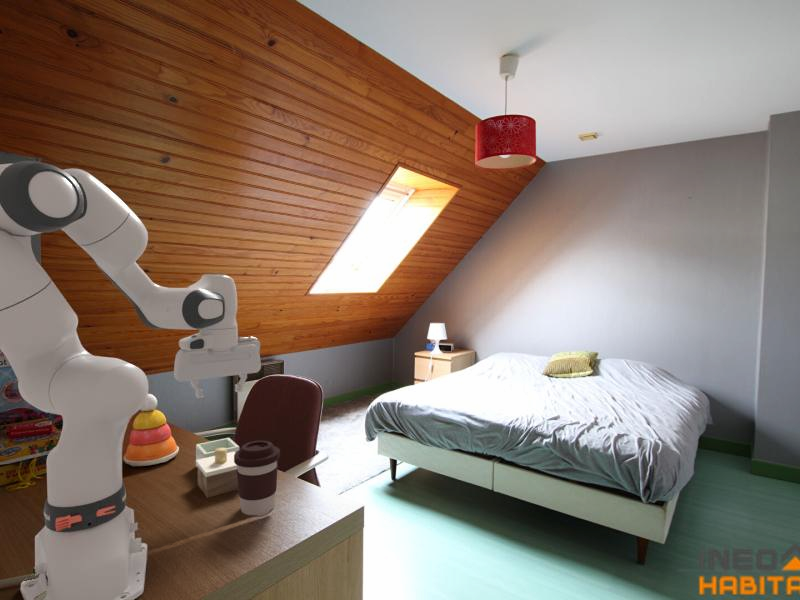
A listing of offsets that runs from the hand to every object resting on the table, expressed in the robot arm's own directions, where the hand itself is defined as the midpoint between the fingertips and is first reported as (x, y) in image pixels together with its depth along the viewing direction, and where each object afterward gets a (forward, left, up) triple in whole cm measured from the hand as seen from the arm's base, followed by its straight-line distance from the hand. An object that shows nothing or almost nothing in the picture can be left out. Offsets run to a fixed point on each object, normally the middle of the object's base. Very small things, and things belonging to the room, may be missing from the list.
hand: (219, 394), depth 112 cm
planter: (+12, -3, -24) cm, 27 cm away
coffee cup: (-16, -4, -24) cm, 29 cm away
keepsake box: (0, 0, -24) cm, 24 cm away
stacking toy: (+32, +10, -24) cm, 41 cm away
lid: (0, 0, -18) cm, 18 cm away
